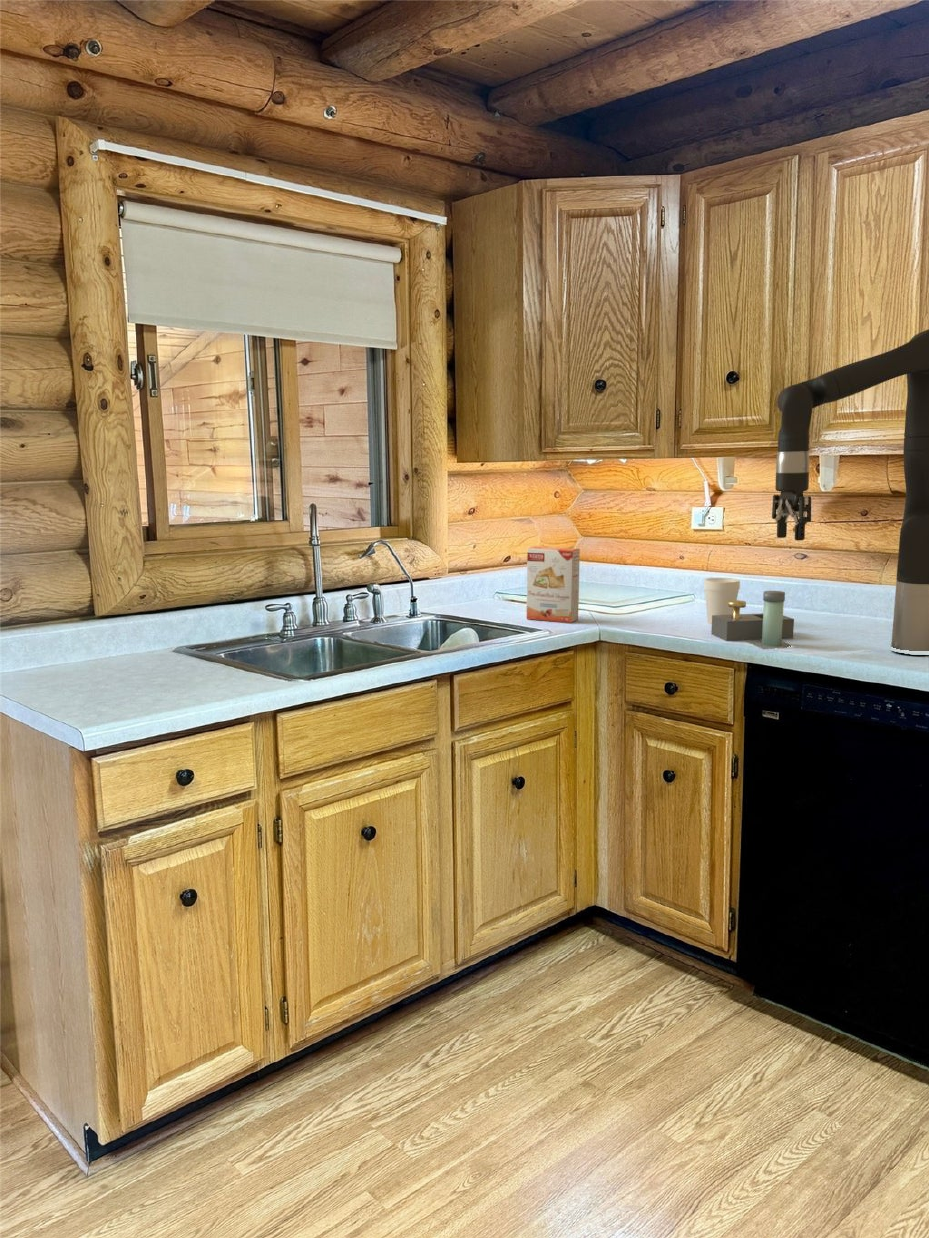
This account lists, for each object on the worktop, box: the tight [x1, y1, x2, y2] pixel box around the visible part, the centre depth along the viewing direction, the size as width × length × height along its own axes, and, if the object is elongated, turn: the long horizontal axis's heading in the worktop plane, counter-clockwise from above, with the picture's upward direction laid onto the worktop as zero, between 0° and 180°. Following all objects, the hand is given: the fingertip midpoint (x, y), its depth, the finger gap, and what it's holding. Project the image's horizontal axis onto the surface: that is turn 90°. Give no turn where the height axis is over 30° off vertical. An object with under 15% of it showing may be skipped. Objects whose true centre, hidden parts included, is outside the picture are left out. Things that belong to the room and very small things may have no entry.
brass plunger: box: [728, 599, 747, 619], centre depth 245 cm, size 4×4×9 cm
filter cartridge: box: [761, 590, 786, 646], centre depth 235 cm, size 5×5×13 cm
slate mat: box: [745, 640, 792, 650], centre depth 236 cm, size 9×9×1 cm
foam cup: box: [703, 577, 741, 625], centre depth 264 cm, size 10×9×13 cm
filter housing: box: [710, 613, 795, 642], centre depth 246 cm, size 18×9×6 cm, turn 100°
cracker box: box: [526, 545, 581, 624], centre depth 273 cm, size 14×6×21 cm, turn 62°
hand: (790, 539), depth 231 cm, fingers open, 8 cm apart
